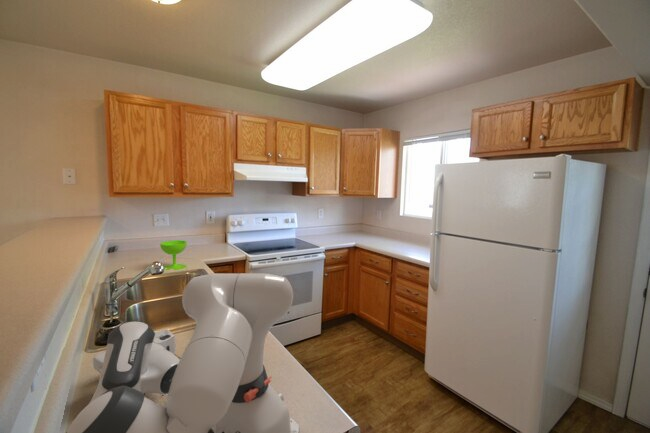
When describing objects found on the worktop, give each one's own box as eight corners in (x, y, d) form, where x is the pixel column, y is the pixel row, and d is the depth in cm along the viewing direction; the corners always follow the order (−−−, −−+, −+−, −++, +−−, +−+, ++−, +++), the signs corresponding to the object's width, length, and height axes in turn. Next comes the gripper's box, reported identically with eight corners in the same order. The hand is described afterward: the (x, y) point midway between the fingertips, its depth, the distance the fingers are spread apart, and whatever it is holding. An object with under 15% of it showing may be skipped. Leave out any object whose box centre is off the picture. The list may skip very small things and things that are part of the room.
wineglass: (164, 266, 206) (163, 240, 204) (189, 264, 211) (188, 239, 209) (158, 273, 191) (157, 245, 189) (185, 271, 196) (184, 244, 194)
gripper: (103, 386, 77) (85, 366, 86) (180, 351, 94) (159, 337, 102) (101, 364, 77) (84, 346, 85) (179, 332, 93) (158, 319, 101)
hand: (125, 341), depth 93 cm, fingers open, 8 cm apart
